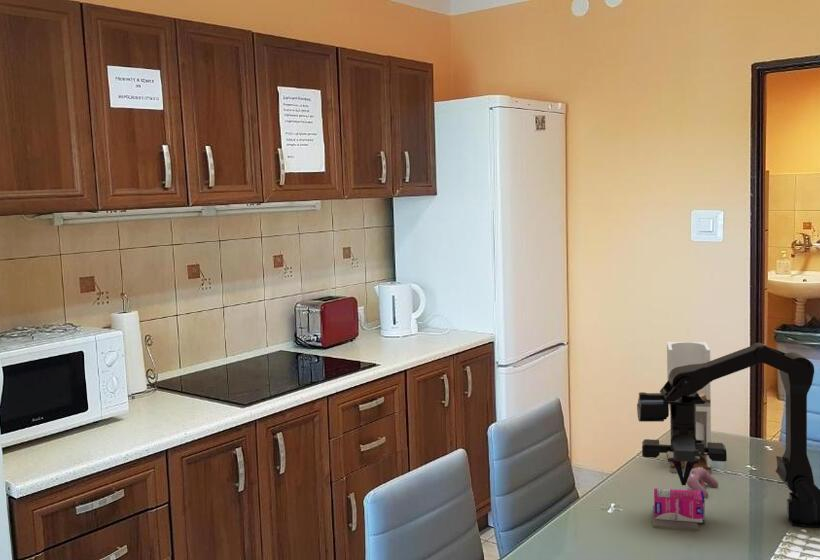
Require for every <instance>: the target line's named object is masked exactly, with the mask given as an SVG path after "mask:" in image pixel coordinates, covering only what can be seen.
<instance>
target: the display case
mask: <svg viewBox="0 0 820 560" xmlns="http://www.w3.org/2000/svg"><path fill="white" fill-rule="evenodd" d="M709 361H711V348H709V345H708V343H707V342H706V341H667V342H666V366H667V368H666V371H667V372H666V375H667V381H668V378H669V374H670V372H671V370H672V369H674V368H676V367H680V366H686V365H692V364H702V363H706V362H709ZM667 381H666V382H667ZM697 393H698V394H699V396H700V397H701V398H702V399H703V400H704V401H705V404H696V440H704V447H707V442H712V428H711V427H712V425H711V424H712V422H711V421H712V419H711V418H712V416H711V415H712V412H711V410H712V409H711V404H712V403H711V399H712V398H711V396H712V395H711V382H710V383H709V384H707V385H706V386H705V387H704V388H702V389H701V390H699V391H697ZM669 410H670V404H669ZM668 464H670V465H669V468H670V469H669V470H670V473H672V472H673V473H675V474H678V472H677V470H676V468H675V466H674V464H673V463H672V462H669V461H668ZM681 465H682V472H683V474H684V468H685V461H681ZM698 467H699V468H701V467H703V469H705V470H706V471H707V472H708V473H709V474H710V475H712V460H711V459H710V458H709V455H704V456H700V463H696V464H695V465H694V466H693V468H698ZM693 468H692V469H693Z"/></svg>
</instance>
